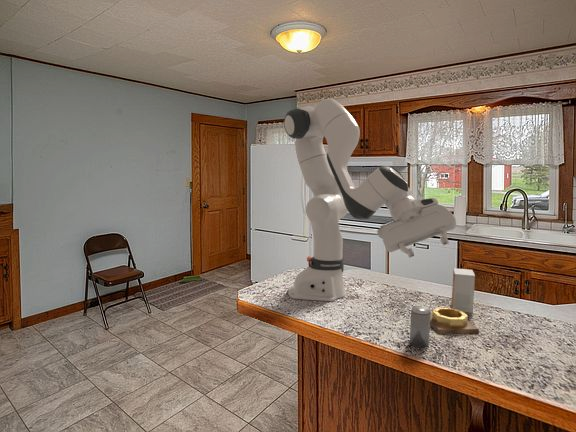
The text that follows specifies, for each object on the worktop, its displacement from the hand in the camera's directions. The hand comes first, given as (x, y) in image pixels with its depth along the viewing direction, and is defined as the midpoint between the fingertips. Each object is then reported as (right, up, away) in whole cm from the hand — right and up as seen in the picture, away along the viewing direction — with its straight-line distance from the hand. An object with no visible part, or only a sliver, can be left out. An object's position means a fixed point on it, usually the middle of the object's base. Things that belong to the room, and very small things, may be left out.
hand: (428, 249), depth 96 cm
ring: (+12, -24, +15) cm, 31 cm away
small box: (+23, -23, +29) cm, 44 cm away
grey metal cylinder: (-1, -26, +3) cm, 26 cm away
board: (+12, -25, +15) cm, 32 cm away
